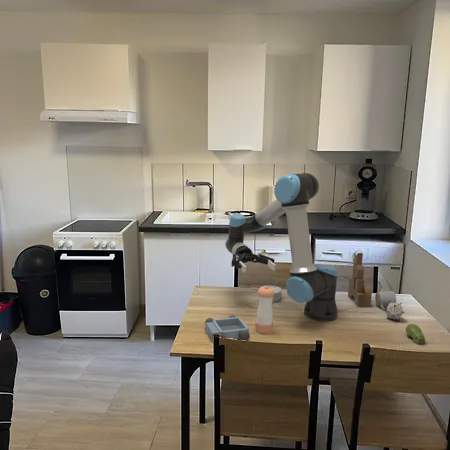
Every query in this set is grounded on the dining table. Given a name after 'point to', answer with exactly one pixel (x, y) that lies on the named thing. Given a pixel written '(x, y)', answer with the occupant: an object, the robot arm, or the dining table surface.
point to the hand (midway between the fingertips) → (260, 268)
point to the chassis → (227, 328)
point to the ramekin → (277, 292)
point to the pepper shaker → (265, 310)
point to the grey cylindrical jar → (385, 298)
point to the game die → (394, 310)
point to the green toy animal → (415, 333)
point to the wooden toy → (359, 284)
